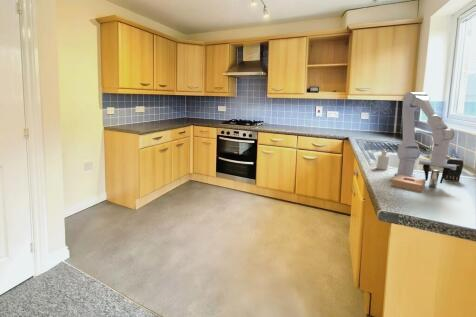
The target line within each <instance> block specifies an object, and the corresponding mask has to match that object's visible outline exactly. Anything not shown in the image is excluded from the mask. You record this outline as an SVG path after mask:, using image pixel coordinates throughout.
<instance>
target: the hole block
mask: <svg viewBox="0 0 476 317" xmlns="http://www.w3.org/2000/svg"><path fill="white" fill-rule="evenodd" d="M425 185H426V180H425V179H422V178H419V177H414V176H413V177H408V176H403V175H395V176H394V178H392V180H391V186H393V187H397V188H401V189H407V190H410V191H411V190H412V191H415V192H422V191H423V189H424V187H425Z"/></svg>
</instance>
